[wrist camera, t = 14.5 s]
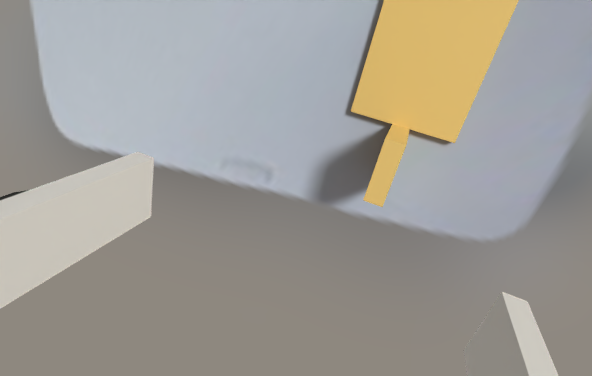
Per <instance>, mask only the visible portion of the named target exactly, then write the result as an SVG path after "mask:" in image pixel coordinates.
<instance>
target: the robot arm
mask: <svg viewBox="0 0 592 376" xmlns="http://www.w3.org/2000/svg"><path fill="white" fill-rule="evenodd" d="M153 165H154V158H153V157H150V156H148V155H145V154H142V153H140V152H136V153H133V154H130V155H127V156H124V157H122V158H119V159H116V160H113V161H110V162H108V163H105V164H102V165H99V166H96V167H93V168H91V169H88V170H85V171H82V172H79V173H77V174H74V175H71V176H68V177H65V178H62V179H60V180H57V181H54V182H51V183H48V184H45V185H43V186H40V187H37V188H34V189H31V190H27V191H21V192H15V193H11V194H8V195H5V196H3V197H0V308H2V307H4V306H5V305H7V304H8V303H10V302H12V301H13V300H15V299H17V298H18V297H20V296H22V295H23V294H25V293H26V292H28V291H30V290H31V289H33V288H35V287H36V286H38V285H40V284H41V283H43V282H45V281H46V280H48V279H49V278H51V277H53V276H54V275H56V274H58V273H59V272H61V271H63V270H64V269H66V268H68V267H69V266H71V265H72V264H74V263H76V262H77V261H79V260H81V259H82V258H84V257H86V256H87V255H89V254H90V253H92V252H94V251H95V250H97V249H98V248H100V247H102V246H103V245H105V244H107V243H109V242H110V241H112V240H113V239H115V238H117V237H118V236H120V235H121V234H123V233H125V232H127V231H128V230H130V229H131V228H133V227H135V226H136V225H138V224H140V223H141V222H143V221H145V220H146V219H148V218H149V217H151V204H152V184H153ZM464 356H465V364H466V372H467V376H558V374H557V371H556V369H555V367H554V364H553V362H552V360H551V357H550V355H549V352H548V350H547V347H546V345H545V343H544V340H543V338H542V335H541V333H540V330H539V328H538V326H537V323H536V321H535V318H534V316H533V314H532V311H531V309H530V306H529V304H528V302H527V301H525V300H522V299H520V298H517V297H514V296H512V295H509V294H507V293H504V292H501V294H500V295H499V297H498V298H497V300H496V301H495V303H494V304H493V306H492V307H491V309H490V311H489V312H488V314H487V315H486V317H485V318H484V320H483V321H482V323H481V325H480V326H479V327H478V329H477V330H476V332H475V334H474V335H473V337H472V338H471V340H470V342H469V343H468V344H467V346H466V347H465V349H464Z"/></svg>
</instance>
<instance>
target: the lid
mask: <svg viewBox="0 0 592 376" xmlns="http://www.w3.org/2000/svg"><path fill="white" fill-rule="evenodd" d="M518 1H519V0H384V2H383V5H382V9H381V12H380V15H379V19H378V22H377V25H376V29H375V32H374V35H373V39H372V42H371V45H370V49H369V52H368V55H367V59H366V62H365V65H364V69H363V72H362V75H361V79H360V82H359V85H358V89H357V92H356V95H355V99H354V102H353V105H352V109H351V112H354V113H358V114H361V115H364V116H368V117H371V118H374V119H377V120H381V121H384V122H387V123H390V124H392V126H391V128H390V130H389V132H388V134H387V136H386V138H385V141H384V143H383V146H382V149H381V152H380V155H379V157H378V160H377V163H376V166H375V169H374V171H373V174H372V177H371V180H370V183H369V185H368V188H367V191H366V194H365V197H364V201H367V202H369V203H372V204H375V205H378V206H381V207H383V204H384V201H385V199H386V196H387V194H388V191H389V189H390V186H391V183H392V181H393V178H394V176H395V173H396V170H397V168H398V165H399V163H400V160H401V158H402V155H403V152H404V150H405V147H406V144H407V139H408V135H409V130H413V131H417V132H420V133H423V134H427V135H430V136H433V137H436V138H440V139H443V140H446V141H450V142H453V143H455V141H456V139H457V137H458V134H459V132H460V130H461V128H462V125H463V123H464V121H465V119H466V117H467V114H468V112H469V110H470V108H471V105H472V103H473V101H474V99H475V96H476V94H477V92H478V90H479V88H480V85H481V83H482V81H483V79H484V76H485V74H486V72H487V70H488V67H489V65H490V63H491V61H492V59H493V56H494V54H495V52H496V50H497V47H498V45H499V43H500V41H501V39H502V36H503V34H504V32H505V30H506V27H507V25H508V23H509V21H510V18H511V16H512V14H513V12H514V10H515V7H516V5H517V3H518Z"/></svg>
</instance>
